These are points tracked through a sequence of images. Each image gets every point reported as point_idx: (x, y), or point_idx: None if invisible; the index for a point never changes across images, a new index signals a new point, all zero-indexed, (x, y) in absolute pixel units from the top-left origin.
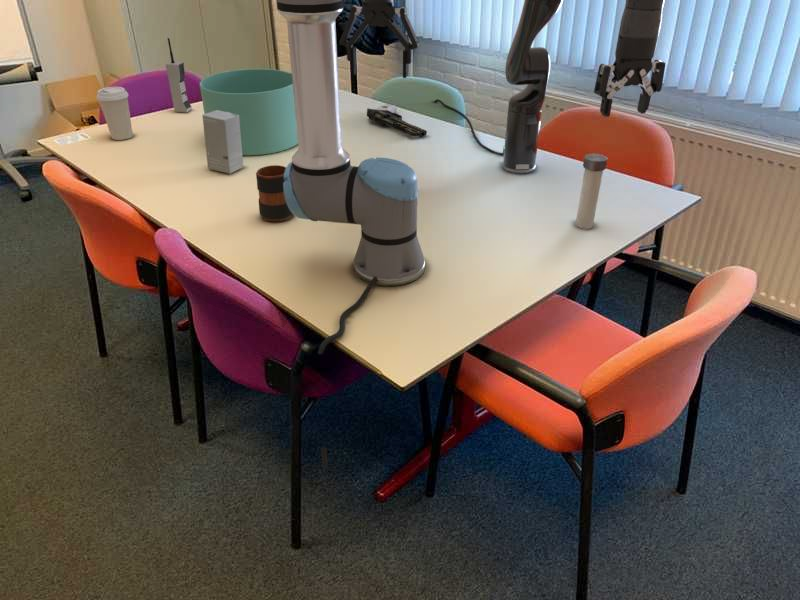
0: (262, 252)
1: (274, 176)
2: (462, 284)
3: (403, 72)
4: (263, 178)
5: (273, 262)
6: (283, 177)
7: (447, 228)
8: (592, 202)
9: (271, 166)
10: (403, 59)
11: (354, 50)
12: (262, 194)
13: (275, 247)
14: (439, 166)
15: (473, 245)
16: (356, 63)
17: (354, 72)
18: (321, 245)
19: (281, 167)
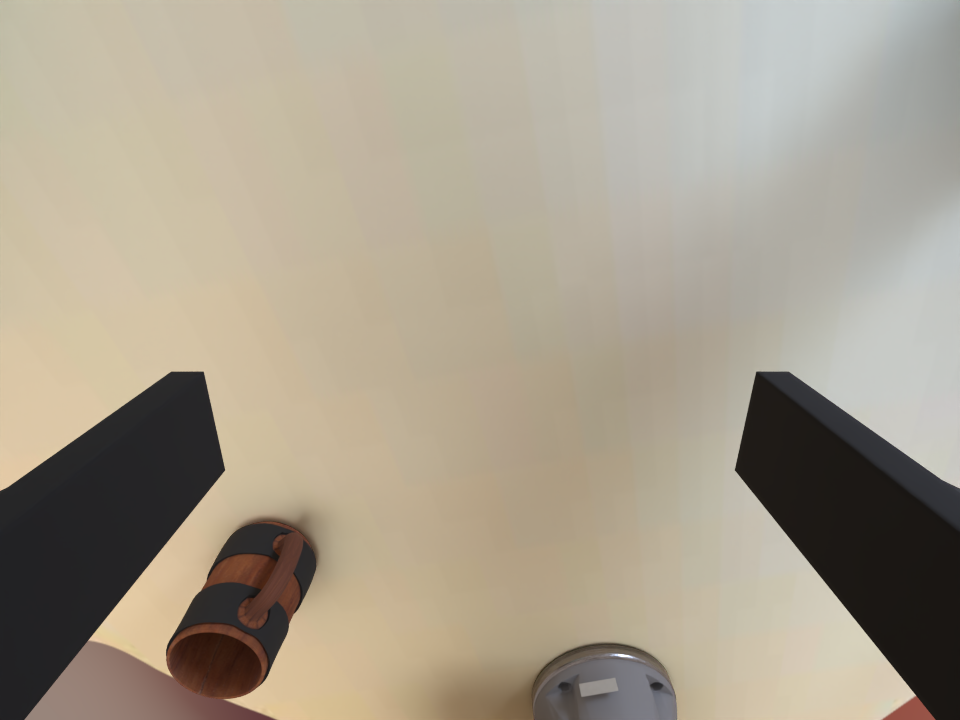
0: (331, 684)
1: (245, 694)
2: (742, 712)
3: (768, 503)
4: (215, 691)
5: (371, 707)
6: (267, 673)
7: (720, 536)
8: None
9: (188, 633)
10: (866, 624)
11: (10, 642)
12: (229, 641)
13: (347, 666)
14: (702, 64)
15: (778, 594)
16: (141, 425)
17: (209, 472)
18: (439, 645)
19: (223, 630)
